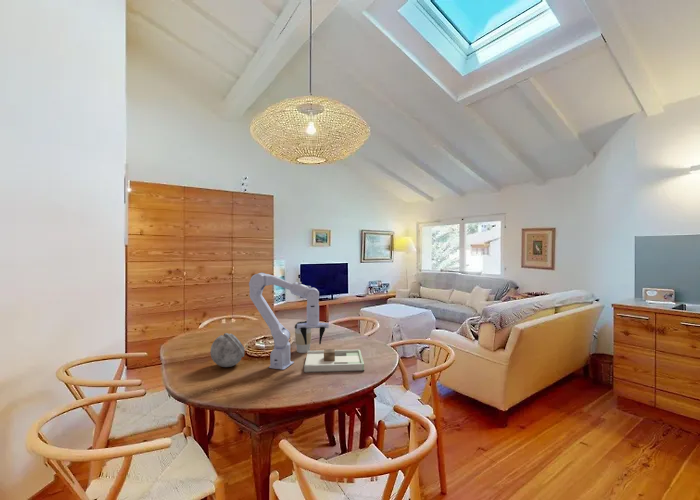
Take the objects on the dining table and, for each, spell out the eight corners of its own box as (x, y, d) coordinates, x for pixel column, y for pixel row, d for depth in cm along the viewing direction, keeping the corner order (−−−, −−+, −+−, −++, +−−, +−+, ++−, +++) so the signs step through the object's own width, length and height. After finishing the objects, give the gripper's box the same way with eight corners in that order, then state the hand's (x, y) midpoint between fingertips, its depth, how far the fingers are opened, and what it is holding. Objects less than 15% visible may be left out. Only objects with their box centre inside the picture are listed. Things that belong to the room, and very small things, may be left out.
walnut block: (323, 361, 146) (323, 352, 146) (324, 357, 151) (324, 349, 151) (334, 361, 146) (334, 352, 146) (334, 357, 151) (334, 348, 151)
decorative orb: (249, 366, 145) (249, 333, 145) (217, 375, 136) (217, 339, 136) (237, 358, 156) (236, 327, 156) (206, 365, 147) (205, 332, 147)
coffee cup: (303, 354, 161) (303, 325, 161) (290, 351, 166) (290, 322, 166) (315, 350, 168) (315, 321, 168) (303, 347, 173) (303, 319, 173)
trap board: (304, 372, 138) (304, 365, 138) (307, 356, 158) (307, 350, 158) (364, 371, 139) (364, 364, 139) (360, 355, 159) (360, 349, 159)
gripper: (296, 316, 143) (296, 346, 144) (328, 316, 144) (328, 346, 144) (297, 313, 151) (297, 342, 151) (328, 312, 151) (328, 341, 151)
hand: (313, 343), depth 148 cm, fingers open, 6 cm apart
